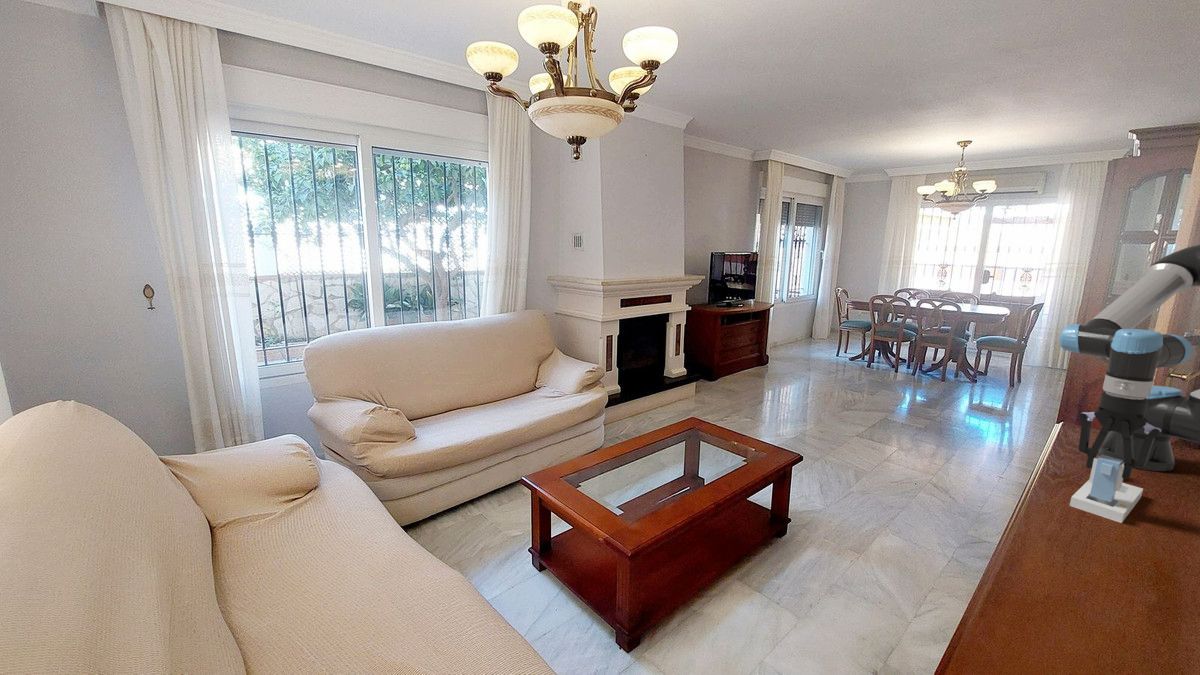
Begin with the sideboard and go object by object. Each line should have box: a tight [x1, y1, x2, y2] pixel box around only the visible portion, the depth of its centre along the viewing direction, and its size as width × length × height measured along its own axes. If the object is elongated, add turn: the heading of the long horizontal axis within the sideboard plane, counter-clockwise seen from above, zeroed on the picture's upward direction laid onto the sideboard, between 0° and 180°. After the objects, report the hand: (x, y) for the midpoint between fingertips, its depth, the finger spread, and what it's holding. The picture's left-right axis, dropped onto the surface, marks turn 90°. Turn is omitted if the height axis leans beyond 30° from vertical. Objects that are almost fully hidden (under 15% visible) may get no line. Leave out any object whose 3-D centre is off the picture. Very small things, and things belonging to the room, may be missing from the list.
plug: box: [1090, 455, 1123, 502], centre depth 115 cm, size 4×4×10 cm
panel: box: [1069, 479, 1144, 524], centre depth 120 cm, size 20×9×3 cm, turn 123°
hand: (1104, 484), depth 116 cm, fingers closed on plug, 4 cm apart
